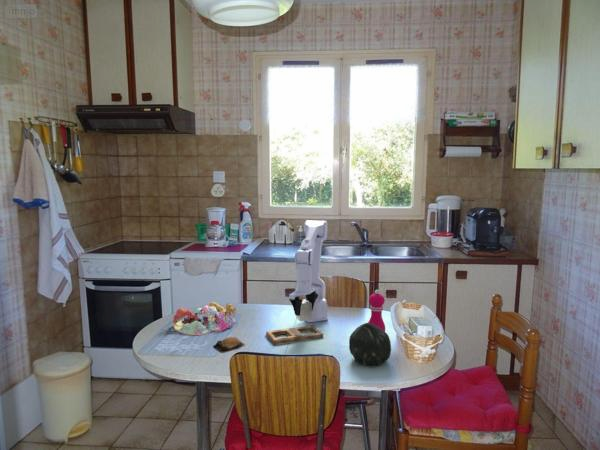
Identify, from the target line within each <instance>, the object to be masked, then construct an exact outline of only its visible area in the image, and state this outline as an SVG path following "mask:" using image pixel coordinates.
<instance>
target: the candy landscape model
mask: <svg viewBox="0 0 600 450" xmlns="http://www.w3.org/2000/svg"><path fill="white" fill-rule="evenodd" d="M236 311H237V307H232V303H230V302H228V303H225V307H223V306H221V305H220V304H219V303H218V302H215V301H212V302H210V303H208V305H204V306H203V307H198V308H197V309H195V312H194V313H193V312H192V310H190V309H187V310H186V309H185V308H182V307H180V308H178V309H177V310H176V311H175V314H174V315H173V320H172V323H173V329H174V330H175V331H176V332H178V333H181V334H183V335H188V336H203V335H207V334H208V333H214V332H216V333H217V332H223V331H226V330H228V329H231V328H232V327H233V326H235V323H236V321H237V320H236V319H235V318H234V317H235V315H236ZM181 319H182V320H181Z"/></svg>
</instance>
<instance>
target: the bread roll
mask: <svg viewBox="0 0 600 450" xmlns="http://www.w3.org/2000/svg"><path fill="white" fill-rule="evenodd" d="M245 346H246V344H245V343H244V342H242V341H240V340H239V339H238V338H237V337H235V336H230V337H225V338H224V339H222V340H217V342H215V344H214V345H212V348H213V349H215V350H217V351H218V352H220V353H223V354H224V353H226V352H230V351H234V350H236V349H240V348H242V347H245Z"/></svg>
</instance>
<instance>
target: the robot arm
mask: <svg viewBox="0 0 600 450" xmlns="http://www.w3.org/2000/svg"><path fill="white" fill-rule="evenodd" d="M328 228H329V227H328V221H327V220H308V219H305V221H304V224H303V231H304V232H303V233H304V234H305V238H304V239H303V240H302V241H301V242H300V243H301V244H300V246H299V249H297V250H296V251H295V254H294V262H295V269H296V288H295V290H294V291H293V292H291V293H289V295H288V296H289V297H288V299H289V301H290V303H291V305H292V308H293V311H294V315H295V316H296V315H297V316H300V311H301V304H302V301H303V300H304V299H308V300H309V301H311V302H312V320H305V322H306V321H307V322H308V323H315V322H322V321H328V320H329V317H328V308H329V307H328V302H327V299H326V282H325V281H324V280H323V279H322V278H321V277H320V276H321V262H322V248H323V243H324V241H326V240H327V238H328ZM301 297H302V298H303V299H301Z"/></svg>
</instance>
